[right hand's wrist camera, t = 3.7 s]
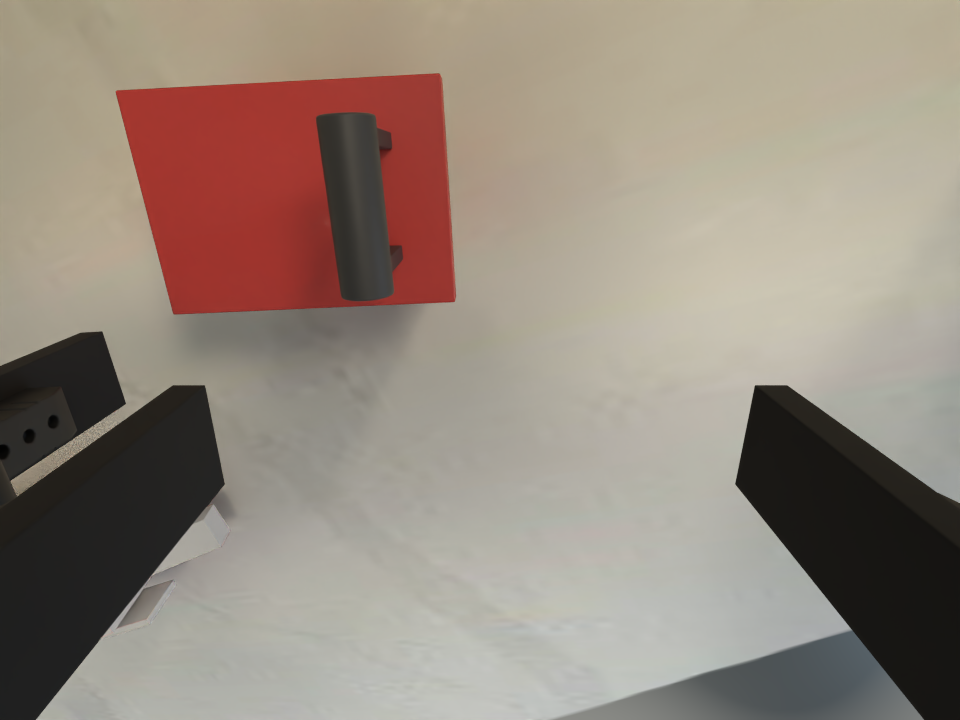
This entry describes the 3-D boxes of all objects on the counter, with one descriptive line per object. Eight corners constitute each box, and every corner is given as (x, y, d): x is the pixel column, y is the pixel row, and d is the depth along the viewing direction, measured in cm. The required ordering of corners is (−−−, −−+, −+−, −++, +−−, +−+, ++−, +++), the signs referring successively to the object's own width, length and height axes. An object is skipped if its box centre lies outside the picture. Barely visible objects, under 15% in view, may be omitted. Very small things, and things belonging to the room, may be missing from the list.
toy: (219, 617, 37) (-177, 779, 37) (268, 509, 49) (-26, 630, 49) (119, 479, 33) (-324, 659, 33) (201, 400, 46) (-119, 530, 45)
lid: (442, 77, 24) (420, 29, 15) (456, 296, 27) (444, 355, 19) (131, 93, 24) (-57, 55, 16) (185, 308, 27) (55, 371, 19)
